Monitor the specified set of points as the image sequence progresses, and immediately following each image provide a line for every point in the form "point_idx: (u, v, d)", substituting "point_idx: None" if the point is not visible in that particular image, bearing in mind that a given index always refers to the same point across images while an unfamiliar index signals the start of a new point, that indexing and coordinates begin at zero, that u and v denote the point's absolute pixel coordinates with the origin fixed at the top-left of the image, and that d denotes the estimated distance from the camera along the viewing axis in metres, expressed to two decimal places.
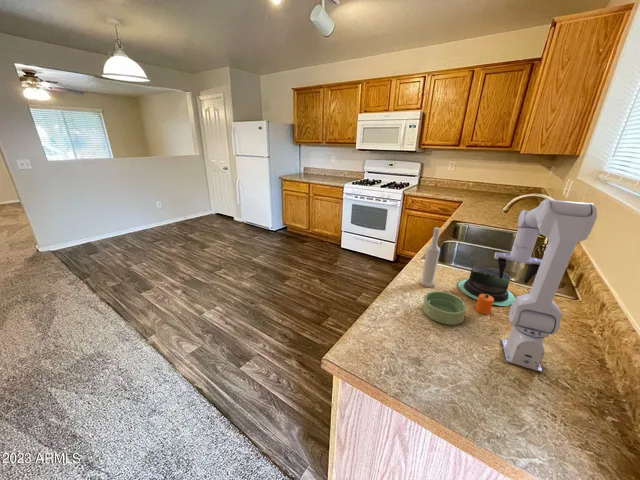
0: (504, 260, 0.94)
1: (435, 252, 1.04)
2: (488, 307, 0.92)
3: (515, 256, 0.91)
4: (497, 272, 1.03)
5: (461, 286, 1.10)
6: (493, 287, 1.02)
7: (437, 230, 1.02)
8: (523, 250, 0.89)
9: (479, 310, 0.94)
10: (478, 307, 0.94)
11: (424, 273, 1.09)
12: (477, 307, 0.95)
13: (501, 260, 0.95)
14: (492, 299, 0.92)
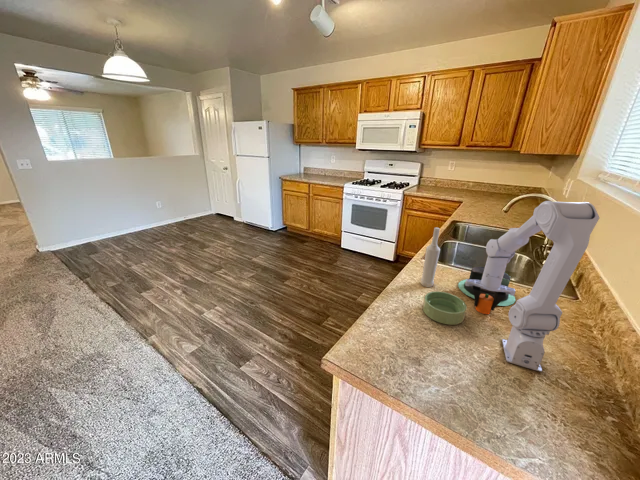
0: (478, 288, 0.93)
1: (435, 252, 1.04)
2: (488, 307, 0.92)
3: (485, 284, 0.90)
4: None
5: (461, 286, 1.10)
6: None
7: (437, 230, 1.02)
8: (492, 279, 0.88)
9: (479, 310, 0.94)
10: (478, 307, 0.94)
11: (424, 273, 1.09)
12: (477, 307, 0.95)
13: (476, 288, 0.93)
14: (492, 299, 0.92)
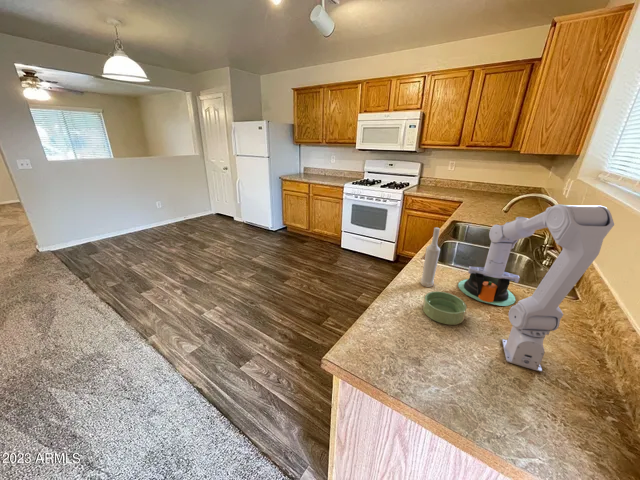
0: (482, 275, 0.91)
1: (435, 252, 1.04)
2: (492, 295, 0.90)
3: (488, 271, 0.88)
4: None
5: (461, 286, 1.10)
6: None
7: (437, 230, 1.02)
8: (496, 265, 0.86)
9: (482, 298, 0.92)
10: (481, 295, 0.92)
11: (424, 273, 1.09)
12: (480, 295, 0.93)
13: (479, 275, 0.91)
14: (495, 286, 0.90)
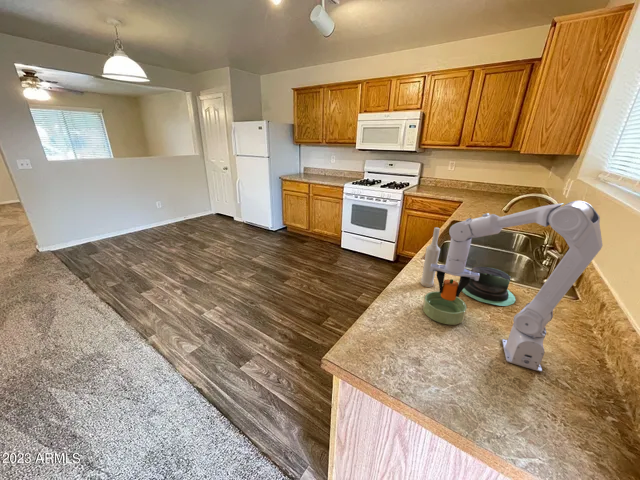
0: (443, 273, 0.88)
1: (435, 252, 1.04)
2: (453, 293, 0.88)
3: (448, 269, 0.85)
4: (497, 272, 1.03)
5: None
6: (493, 287, 1.02)
7: (437, 230, 1.02)
8: (455, 263, 0.83)
9: (444, 296, 0.89)
10: (443, 293, 0.90)
11: (424, 273, 1.09)
12: (442, 293, 0.90)
13: (440, 273, 0.88)
14: (456, 285, 0.88)
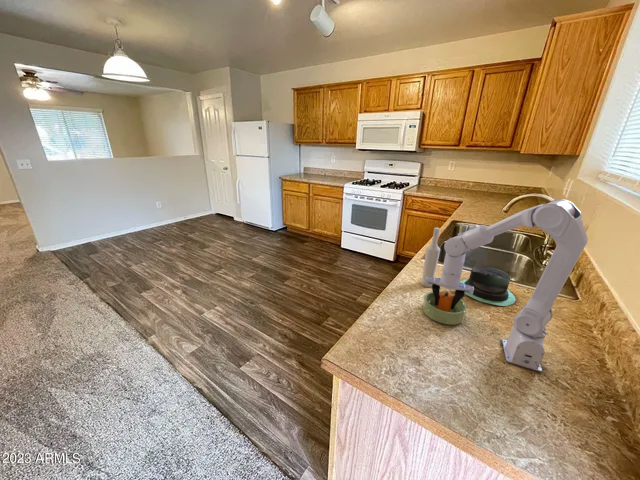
0: (438, 286, 0.90)
1: (435, 252, 1.04)
2: (448, 306, 0.89)
3: (443, 282, 0.87)
4: (497, 272, 1.03)
5: None
6: (493, 287, 1.02)
7: (437, 230, 1.02)
8: (450, 277, 0.85)
9: (439, 309, 0.91)
10: (438, 305, 0.91)
11: (424, 273, 1.09)
12: (437, 306, 0.92)
13: (435, 286, 0.90)
14: (451, 297, 0.89)
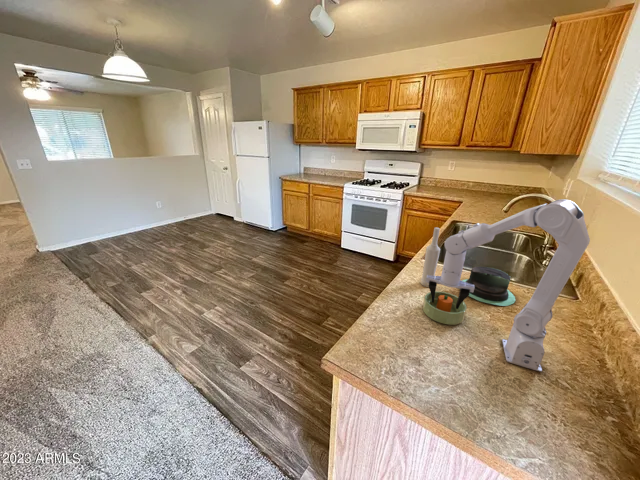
0: (434, 284, 0.90)
1: (435, 252, 1.04)
2: (447, 309, 0.90)
3: (444, 280, 0.87)
4: (497, 272, 1.03)
5: None
6: (493, 287, 1.02)
7: (437, 230, 1.02)
8: (450, 275, 0.85)
9: None
10: None
11: (424, 273, 1.09)
12: None
13: (432, 284, 0.90)
14: (451, 301, 0.90)
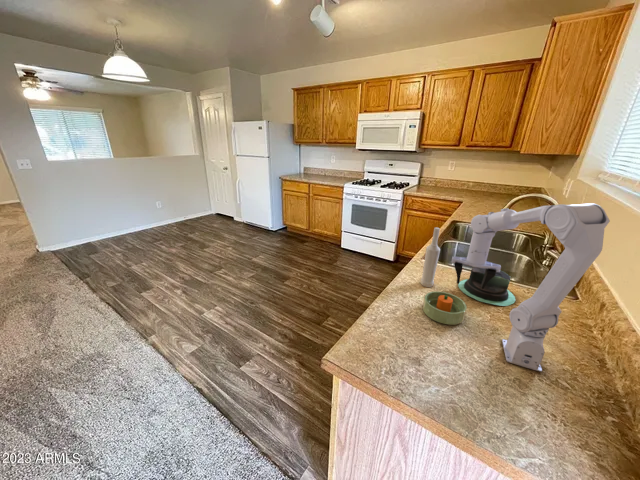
0: (460, 264, 0.92)
1: (435, 252, 1.04)
2: (447, 309, 0.90)
3: (470, 261, 0.89)
4: (497, 272, 1.03)
5: (461, 286, 1.10)
6: (493, 287, 1.02)
7: (437, 230, 1.02)
8: (477, 255, 0.87)
9: None
10: None
11: (424, 273, 1.09)
12: None
13: (457, 264, 0.92)
14: (451, 301, 0.90)
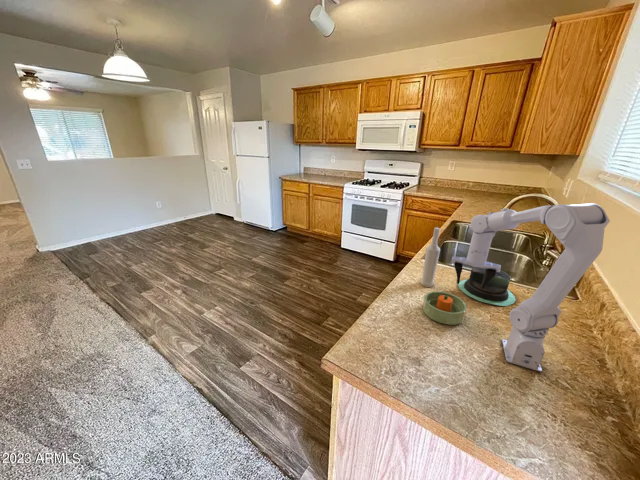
0: (460, 264, 0.92)
1: (435, 252, 1.04)
2: (447, 309, 0.90)
3: (470, 261, 0.89)
4: (497, 272, 1.03)
5: (461, 286, 1.10)
6: (493, 287, 1.02)
7: (437, 230, 1.02)
8: (477, 255, 0.87)
9: None
10: None
11: (424, 273, 1.09)
12: None
13: (457, 264, 0.92)
14: (451, 301, 0.90)
